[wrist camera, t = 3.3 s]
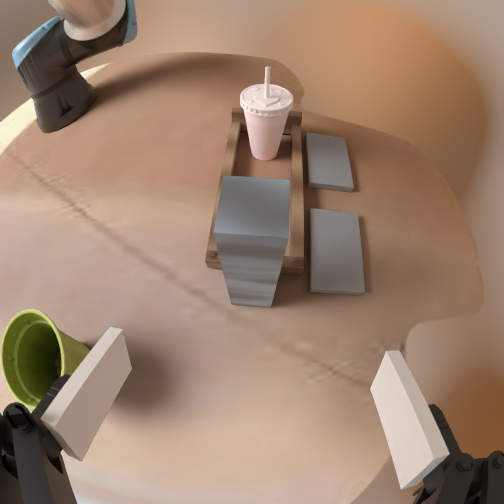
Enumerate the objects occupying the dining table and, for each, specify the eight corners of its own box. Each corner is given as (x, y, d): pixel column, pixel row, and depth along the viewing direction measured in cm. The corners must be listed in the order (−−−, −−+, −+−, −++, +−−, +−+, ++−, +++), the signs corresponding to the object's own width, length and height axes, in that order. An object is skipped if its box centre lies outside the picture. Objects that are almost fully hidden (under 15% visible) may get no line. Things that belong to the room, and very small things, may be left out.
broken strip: (305, 137, 39) (306, 132, 38) (343, 142, 39) (344, 137, 38) (309, 292, 29) (311, 289, 28) (361, 294, 29) (364, 292, 28)
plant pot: (125, 375, 25) (81, 371, 17) (77, 422, 22) (28, 427, 14) (81, 313, 28) (36, 289, 20) (38, 359, 25) (-10, 346, 17)
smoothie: (238, 165, 37) (234, 76, 24) (244, 135, 39) (243, 53, 27) (286, 169, 36) (298, 80, 24) (287, 139, 39) (297, 57, 26)
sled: (233, 125, 40) (229, 40, 27) (298, 130, 40) (311, 45, 26) (202, 301, 28) (161, 229, 15) (300, 309, 28) (342, 242, 15)
